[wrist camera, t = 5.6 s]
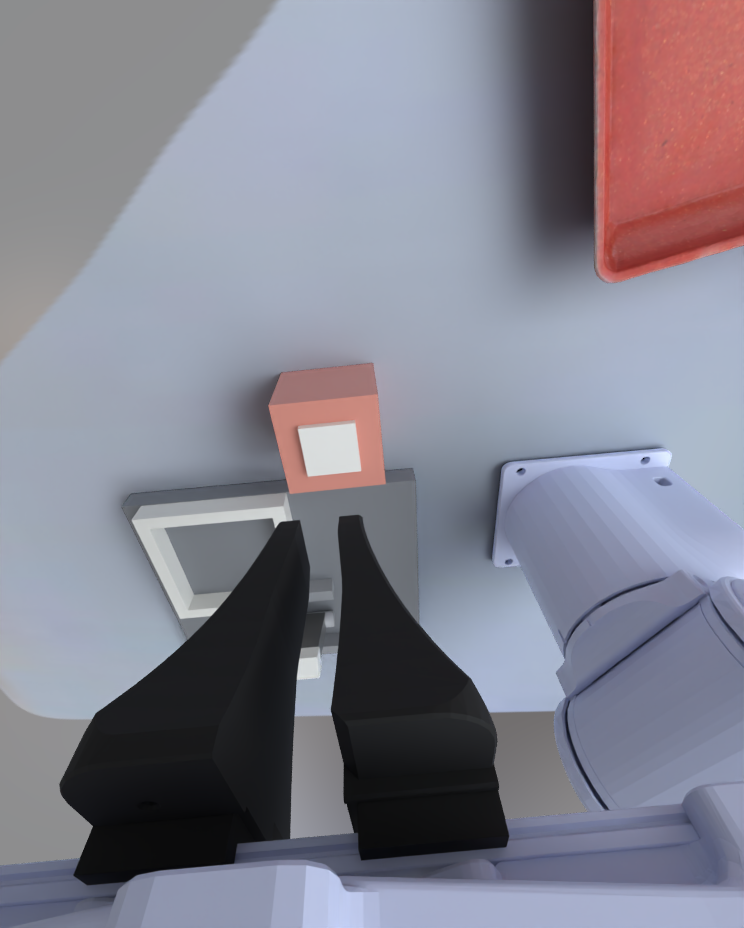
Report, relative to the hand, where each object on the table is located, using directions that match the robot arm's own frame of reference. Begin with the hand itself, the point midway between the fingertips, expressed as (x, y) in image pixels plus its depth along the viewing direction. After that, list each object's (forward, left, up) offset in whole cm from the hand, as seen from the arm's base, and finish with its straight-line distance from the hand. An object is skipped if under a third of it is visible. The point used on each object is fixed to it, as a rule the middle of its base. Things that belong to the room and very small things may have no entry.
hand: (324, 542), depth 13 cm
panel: (+4, +11, -10) cm, 15 cm away
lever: (+3, +14, -8) cm, 16 cm away
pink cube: (0, 0, -10) cm, 10 cm away
